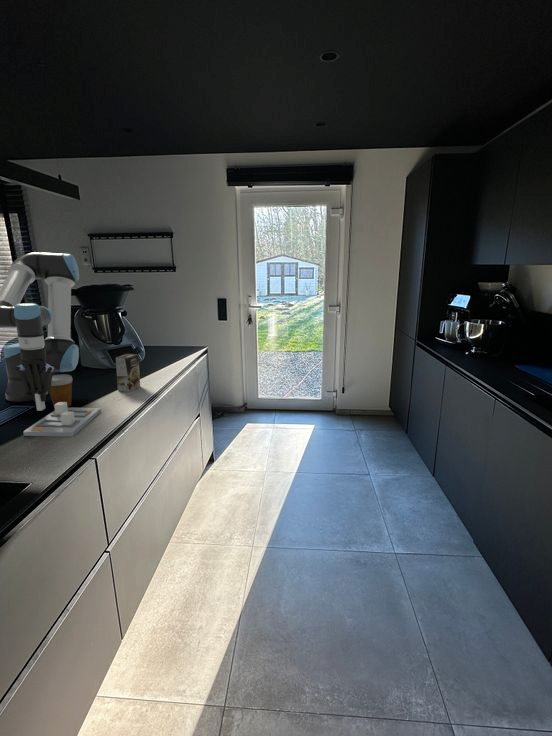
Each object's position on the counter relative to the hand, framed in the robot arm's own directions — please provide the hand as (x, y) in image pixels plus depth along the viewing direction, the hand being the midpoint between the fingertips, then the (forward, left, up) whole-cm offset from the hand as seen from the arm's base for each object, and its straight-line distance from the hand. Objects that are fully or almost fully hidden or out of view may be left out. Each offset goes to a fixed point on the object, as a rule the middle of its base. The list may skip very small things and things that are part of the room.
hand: (41, 409), depth 133 cm
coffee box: (+20, +36, -4) cm, 41 cm away
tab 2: (+14, -9, -1) cm, 17 cm away
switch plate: (+11, -4, -3) cm, 12 cm away
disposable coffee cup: (+1, +13, -4) cm, 13 cm away
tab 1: (+7, 0, -2) cm, 7 cm away
